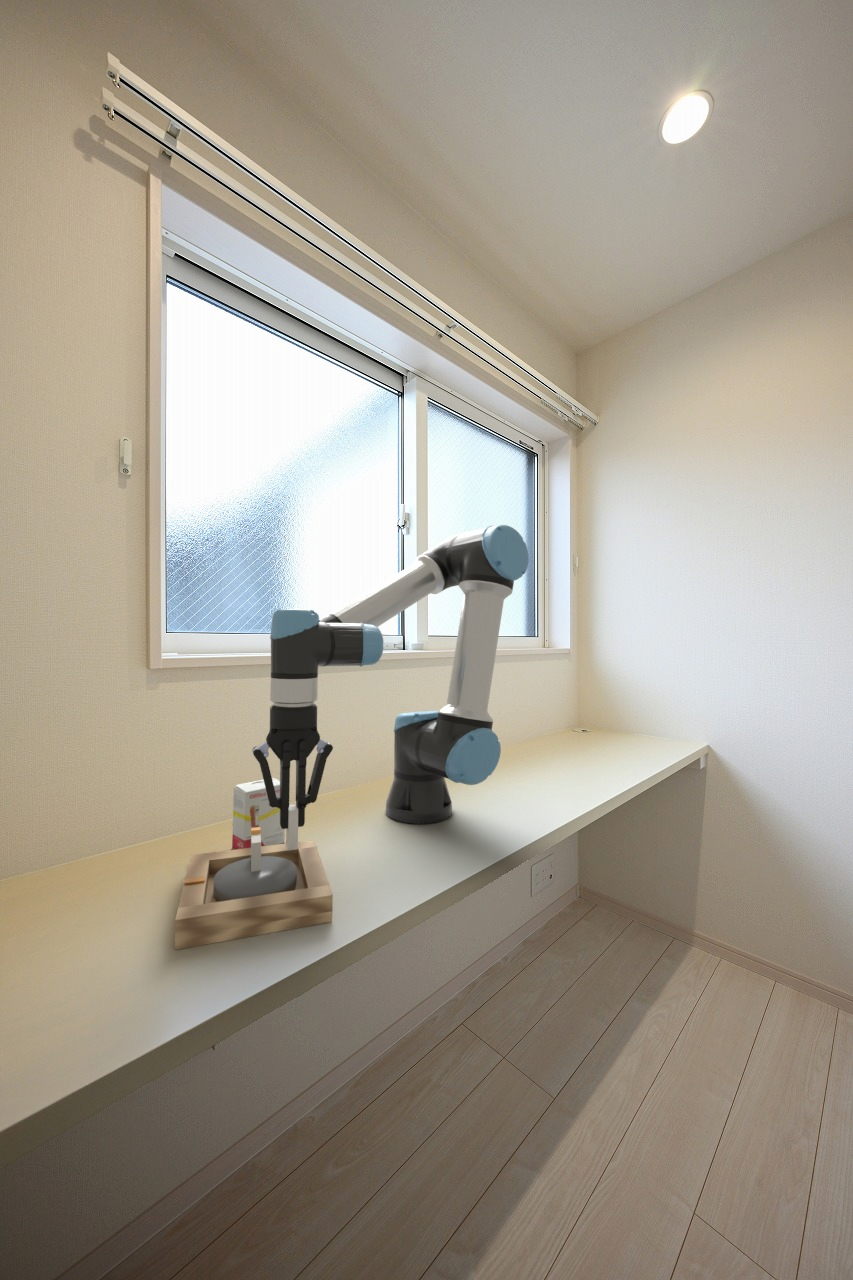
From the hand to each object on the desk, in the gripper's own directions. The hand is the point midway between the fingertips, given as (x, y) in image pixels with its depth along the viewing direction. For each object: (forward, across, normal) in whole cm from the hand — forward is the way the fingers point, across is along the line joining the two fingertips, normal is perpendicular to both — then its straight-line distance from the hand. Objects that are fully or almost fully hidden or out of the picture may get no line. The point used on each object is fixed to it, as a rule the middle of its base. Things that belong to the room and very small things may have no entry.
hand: (291, 846), depth 83 cm
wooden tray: (+6, +6, +4) cm, 9 cm away
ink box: (+6, +4, -16) cm, 17 cm away
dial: (+4, +6, +4) cm, 8 cm away
